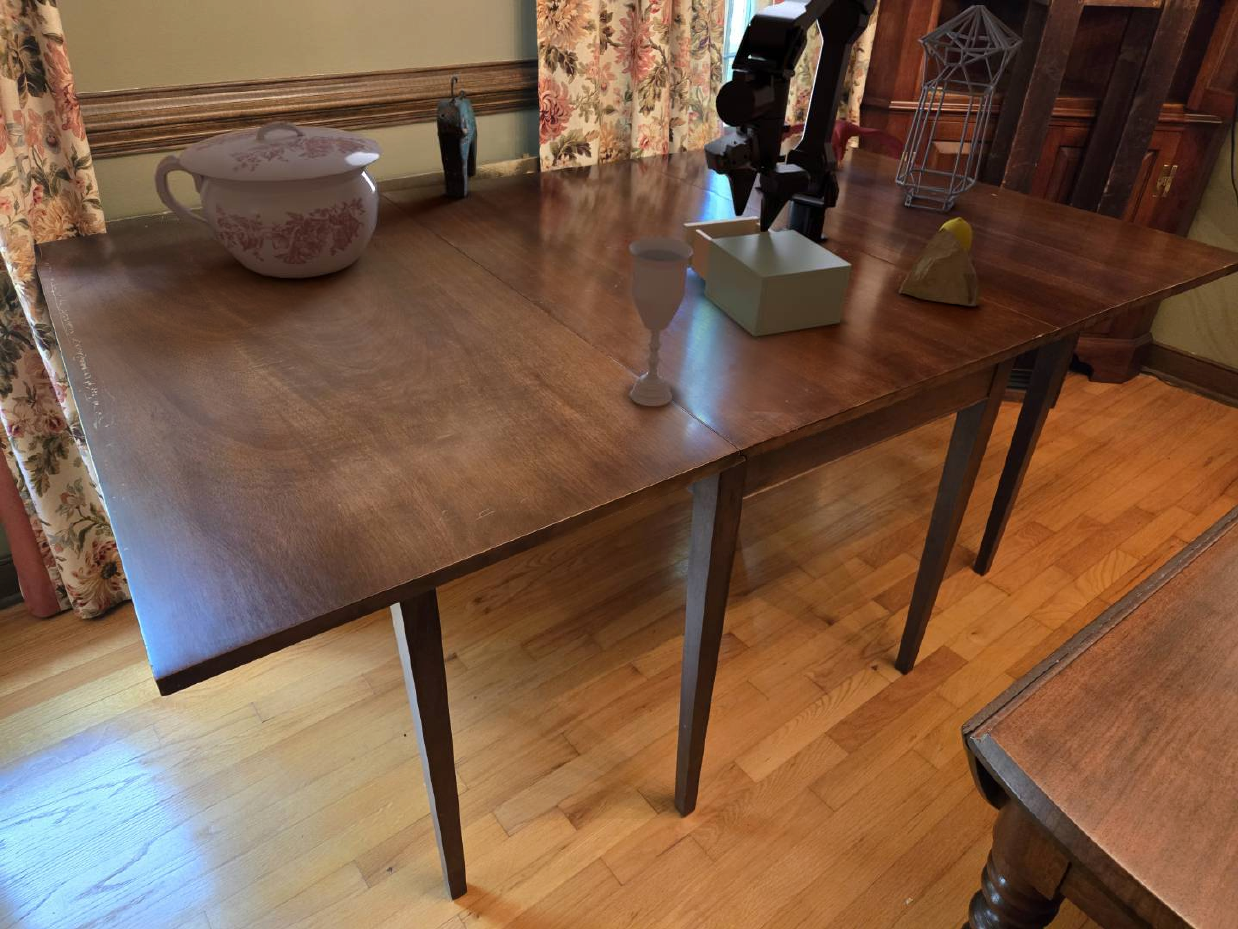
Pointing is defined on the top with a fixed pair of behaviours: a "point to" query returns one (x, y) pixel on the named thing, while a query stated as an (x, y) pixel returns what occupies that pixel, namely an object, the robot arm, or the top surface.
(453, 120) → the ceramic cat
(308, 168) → the chamber pot
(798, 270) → the cabinet
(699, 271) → the drawer
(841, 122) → the decorative bird sculpture
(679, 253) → the chalice
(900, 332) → the top surface
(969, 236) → the lemon
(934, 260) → the rock
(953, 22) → the geometric lantern
